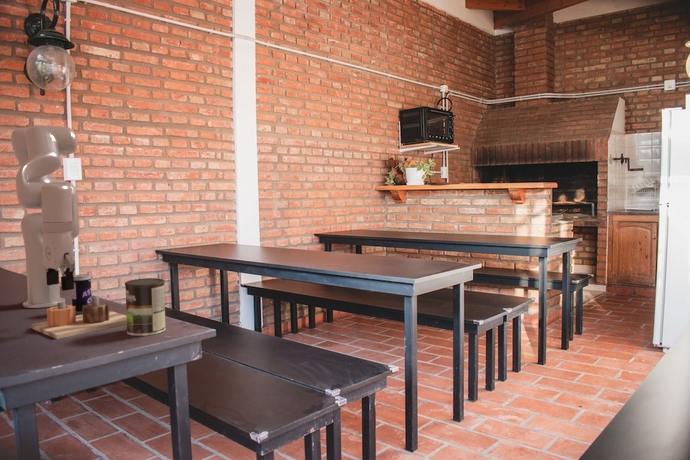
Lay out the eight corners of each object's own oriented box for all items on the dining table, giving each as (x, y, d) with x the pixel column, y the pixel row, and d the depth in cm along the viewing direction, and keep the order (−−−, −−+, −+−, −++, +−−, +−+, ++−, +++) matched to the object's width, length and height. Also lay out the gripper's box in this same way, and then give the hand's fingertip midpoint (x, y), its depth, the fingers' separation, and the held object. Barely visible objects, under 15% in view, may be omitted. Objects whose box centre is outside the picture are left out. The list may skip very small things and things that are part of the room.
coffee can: (133, 338, 136) (131, 286, 134) (121, 330, 143) (119, 280, 142) (171, 331, 142) (170, 281, 141) (158, 324, 150) (156, 276, 149)
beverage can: (84, 314, 162) (82, 277, 161) (68, 313, 163) (66, 276, 162) (96, 310, 167) (94, 274, 166) (81, 309, 168) (79, 273, 168)
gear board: (31, 328, 146) (29, 299, 145) (107, 313, 163) (106, 287, 162) (56, 339, 135) (55, 307, 135) (135, 322, 152) (134, 294, 152)
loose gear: (41, 325, 144) (40, 309, 144) (62, 319, 151) (61, 304, 151) (61, 327, 142) (61, 311, 142) (81, 321, 149) (80, 305, 149)
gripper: (31, 226, 147) (33, 284, 149) (56, 231, 136) (59, 294, 138) (58, 224, 153) (61, 280, 155) (85, 229, 142) (87, 289, 144)
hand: (60, 287), depth 147 cm, fingers open, 9 cm apart
